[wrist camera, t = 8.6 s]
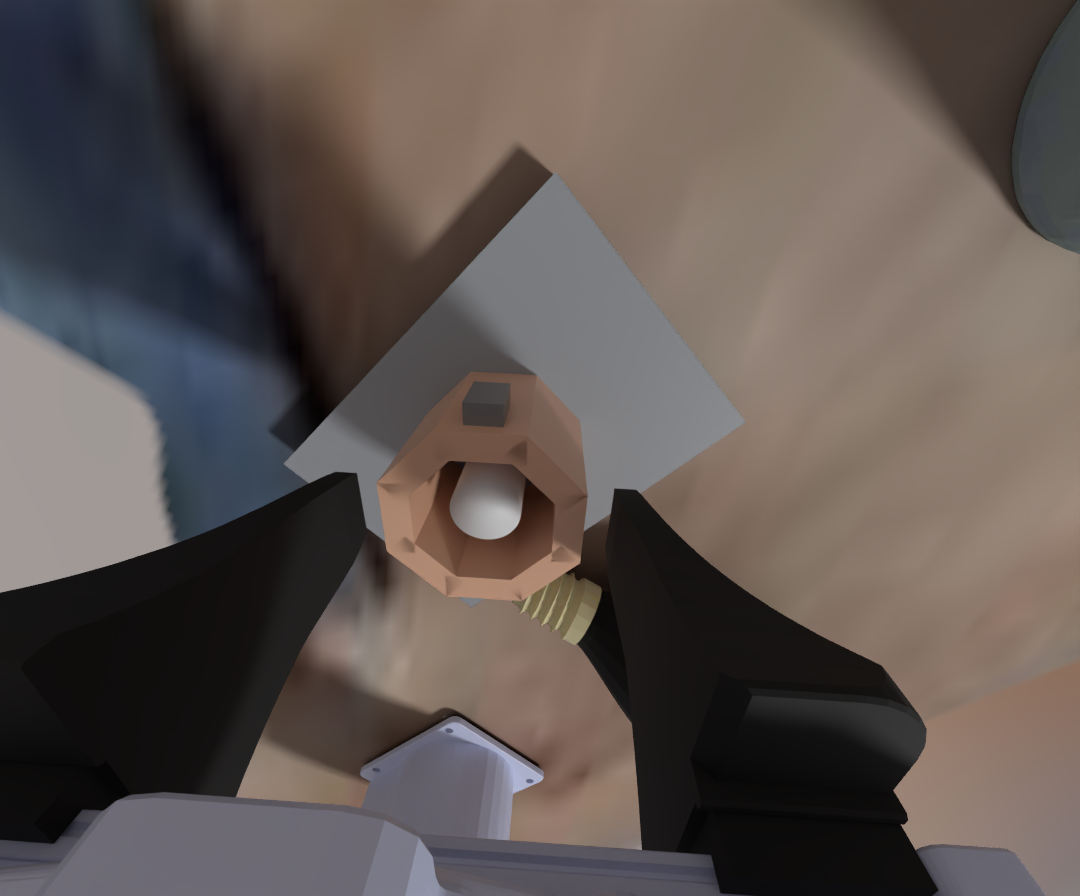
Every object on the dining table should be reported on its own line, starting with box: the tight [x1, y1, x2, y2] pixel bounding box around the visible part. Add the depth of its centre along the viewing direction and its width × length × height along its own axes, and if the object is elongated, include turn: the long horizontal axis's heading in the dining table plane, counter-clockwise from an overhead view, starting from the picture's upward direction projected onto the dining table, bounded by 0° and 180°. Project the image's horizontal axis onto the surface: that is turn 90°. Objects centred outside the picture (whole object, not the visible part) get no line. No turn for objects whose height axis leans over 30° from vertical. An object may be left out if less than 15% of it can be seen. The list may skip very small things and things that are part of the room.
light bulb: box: [512, 572, 632, 723], centre depth 18 cm, size 7×7×12 cm
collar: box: [377, 371, 588, 601], centre depth 13 cm, size 6×5×5 cm
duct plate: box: [284, 172, 745, 607], centre depth 14 cm, size 14×10×5 cm
